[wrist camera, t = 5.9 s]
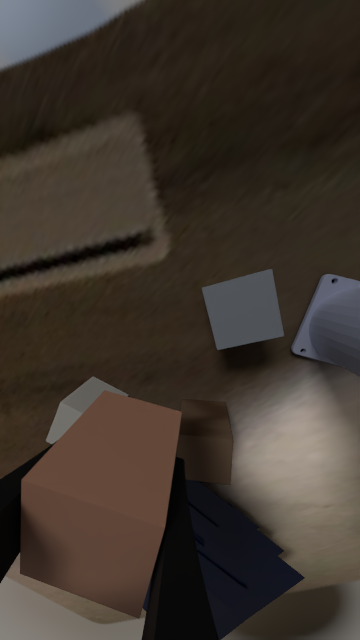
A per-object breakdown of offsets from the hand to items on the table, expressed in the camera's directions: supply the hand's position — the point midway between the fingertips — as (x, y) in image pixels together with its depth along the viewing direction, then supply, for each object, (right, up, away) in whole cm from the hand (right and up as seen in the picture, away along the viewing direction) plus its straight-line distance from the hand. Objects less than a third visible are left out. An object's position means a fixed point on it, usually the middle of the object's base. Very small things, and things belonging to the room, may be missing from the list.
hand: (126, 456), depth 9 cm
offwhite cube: (-7, -3, +12) cm, 14 cm away
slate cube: (+8, +9, +8) cm, 15 cm away
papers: (-1, -20, +15) cm, 26 cm away
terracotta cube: (0, 0, +1) cm, 2 cm away
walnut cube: (+6, -4, +11) cm, 13 cm away
